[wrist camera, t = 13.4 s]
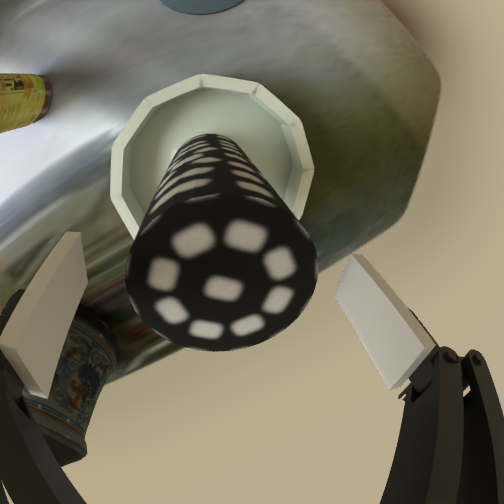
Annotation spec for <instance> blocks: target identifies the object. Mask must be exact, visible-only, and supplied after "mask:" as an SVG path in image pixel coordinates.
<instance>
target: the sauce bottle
mask: <svg viewBox="0 0 504 504" xmlns="http://www.w3.org/2000/svg"><path fill="white" fill-rule="evenodd" d="M51 97H52V91H51V86H50V83H49V82H48V81H47V80H46V79H45V78H44V77H43V76H41V75H35V74H0V133H3V132H6V131H10V130H13V129H17V128H21V127H24V126H28V125H29V124H31V123H34V122H37V121H38V120H40V119H41V118H42V117H43V116H44V115H45V113H46V111H47V109H48V108H49V106H50V102H51Z"/></svg>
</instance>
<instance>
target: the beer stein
mask: <svg viewBox="0 0 504 504" xmlns="http://www.w3.org/2000/svg"><path fill="white" fill-rule="evenodd" d="M116 361H117V359H116V339H115V337H114V335H113V334H112V332H111V330H110V328H109V326H108V324H107V323H105V322H104V321H102V320H101V319H100V318H98V317H97V316H96V315H94V314H93V313H92V312H90V311H89V310H88V309H85V308H82V307H80V306H78V307H77V310H76V312H75V315H74V317H73V320H72V322H71V325H70V328H69V331H68V333H67V336H66V339H65V342H64V345H63V348H62V351H61V354H60V357H59V360H58V364H57V367H56V370H55V374H54V377H53V381H52V385H51V388H50V392H49V396H48V399H46V398H43V397H39V396H36V395H32V394H30V392H29V391H28V390H27V388H26V387H25V386H24V388H23V392H22V394H23V395H24V397H25V399H26V401H27V403H28V406H29V408H30V410H31V413H32V415H33V417H34V419H35V421H36V423H37V425H38V427H39V429H40V431H41V433H42V435H43V437H44V439H45V441H46V443H47V445H48V446H49V448H50V450H51V452H52V453H53V455H54V457H55V458H56V460H57V462H58V463H59V465H60V467H62V466H65V465H67V464H70V463H73V462H76V461H79V460H81V459H82V458H83V457H85V456H86V454H87V446H86V442H85V434H86V431H87V428H88V425H89V422H90V419H91V416H92V413H93V410H94V407H95V404H96V401H97V399H98V396H99V394H100V392H101V390H102V388H103V386H104V384H105V383H106V381H107V379H108V378H109V376H110V375H111V374H112V373H113V371H114V369H115V366H116Z"/></svg>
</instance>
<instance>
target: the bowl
mask: <svg viewBox="0 0 504 504" xmlns="http://www.w3.org/2000/svg"><path fill="white" fill-rule="evenodd" d="M202 134H219V135H223V136H225V137H227V138H230V139H231V140H233V141H234V142H235V143H237V145H238V146H239V147H240V148H241V149H242V150H243V151H244V153H245V154H246V155H247V156H248V157H249V159H250V160H251V161H252V162H253V163H254V165H255V166H256V167H257V168H258V170H259V171H260V172H261V173H262V174H263V176H264V177H265V178H266V179H267V181H268V182H269V183H270V184H271V186H272V187H273V188H274V189H275V191H276V192H277V193H278V194H279V196H280V197H281V198H282V200H283V201H284V202H285V203H286V205H287V206H288V207H289V209H290V210H291V211H292V212H293V214H294V215H295V216H296V218H297V219H298V220H299V219H300V218H301V216H302V214H303V211H304V207H305V204H306V200H307V196H308V193H309V189H310V185H311V182H312V178H313V174H314V170H313V169H314V165H313V161H312V157H311V154H310V150H309V146H308V143H307V139H306V136H305V132H304V129H303V125H302V122H301V121H300V119H299V118H298V117H297V116H296V115H295V114H294V113H293V112H292V111H291V110H290V109H289V108H288V107H286V106H285V105H284V104H283V103H282V102H281V101H280V100H279V99H278V98H276V97H275V96H274V95H273V94H272V93H271V92H270V91H268V90H267V89H266V88H265V87H264V86H262V85H261V84H258V83H257V82H252V81H247V80H241V79H236V78H229V77H223V76H216V75H208V74H201V76H200V74H198V75H195V76H193V77H190V78H188V79H185V80H183V81H180V82H178V83H176V84H173V85H171V86H169V87H167V88H164V89H162V90H160V91H158V92H156V93H154V94H151V95H149V96H147V97H146V99H143V101H142V102H141V103H140V105H139V106H138V108H137V109H136V110H135V112H134V113H133V115H132V116H131V117H130V119H129V120H128V122H127V123H126V125H125V126H124V128H123V129H122V131H121V132H120V134H119V135H118V137H117V139H116V140H115V142H114V143H113V146H112V158H111V200H112V202H113V204H114V206H115V207H116V209H117V211H118V213H119V215H120V216H121V218H122V220H123V222H124V223H125V225H126V227H127V228H128V230H129V232H130V234H131V235H132V237H133V239H134V240H135V237H136V235H137V233H138V230H139V228H140V226H141V223H142V221H143V219H144V216H145V214H146V212H147V210H148V208H149V206H150V203H151V201H152V199H153V197H154V195H155V193H156V191H157V189H158V187H159V185H160V183H161V181H162V179H163V177H164V175H165V173H166V171H167V169H168V167H169V165H170V163H171V161H172V159H173V157H174V155H175V154H176V152H177V151H178V149H179V148H180V147H181V146H182V145H183V144H184V143H185V142H186V141H188V140H189V139H191V138H193V137H195V136H198V135H202Z"/></svg>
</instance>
